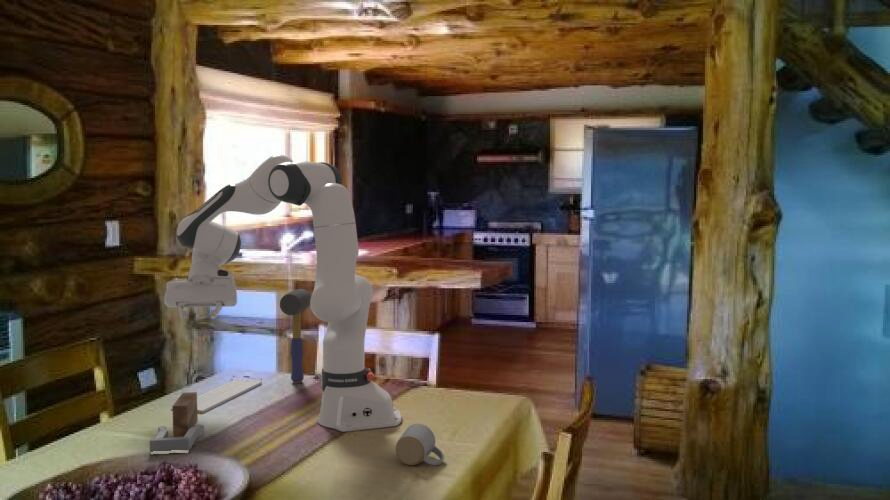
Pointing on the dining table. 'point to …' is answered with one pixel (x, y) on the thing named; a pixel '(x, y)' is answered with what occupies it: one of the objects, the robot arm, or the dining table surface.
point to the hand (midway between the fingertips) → (198, 317)
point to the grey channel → (175, 439)
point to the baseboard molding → (224, 394)
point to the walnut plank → (184, 413)
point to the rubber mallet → (296, 327)
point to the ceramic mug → (418, 446)
